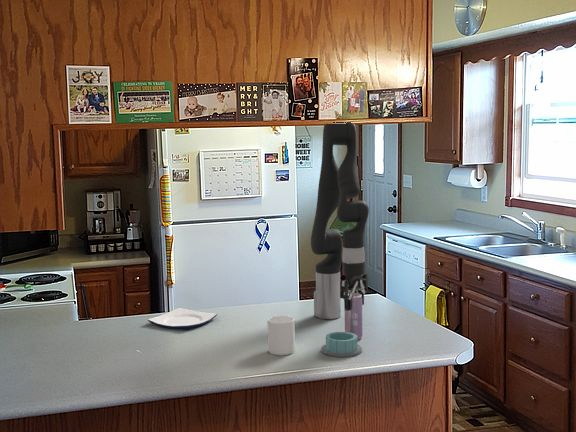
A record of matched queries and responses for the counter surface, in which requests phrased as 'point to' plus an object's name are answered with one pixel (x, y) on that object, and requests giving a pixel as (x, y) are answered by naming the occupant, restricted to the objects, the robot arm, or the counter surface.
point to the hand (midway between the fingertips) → (354, 307)
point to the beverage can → (354, 316)
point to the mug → (281, 335)
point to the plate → (182, 319)
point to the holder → (341, 345)
